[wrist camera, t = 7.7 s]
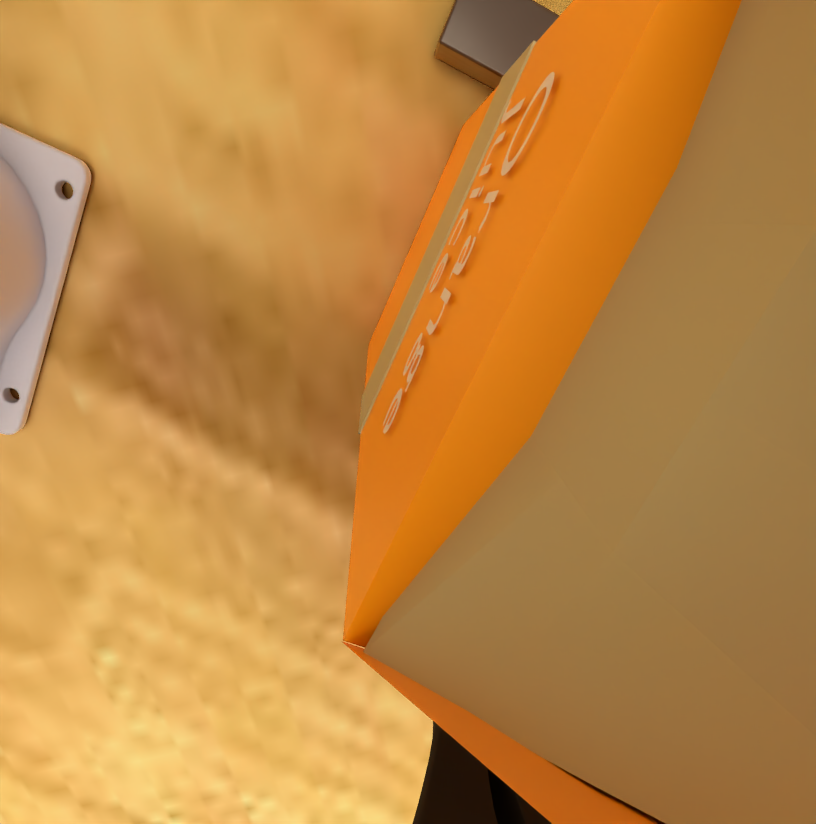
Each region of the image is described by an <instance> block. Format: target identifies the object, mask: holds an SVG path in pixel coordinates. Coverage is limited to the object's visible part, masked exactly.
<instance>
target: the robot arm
mask: <svg viewBox="0 0 816 824" xmlns="http://www.w3.org/2000/svg"><path fill="white" fill-rule="evenodd" d="M66 182H68V183H69V184H70V185H71V186H72V188H73V195H72V197H71V198H70V199H67V198H66V197H65V196H64V194H63V193H62V186H63V184H64V183H66ZM90 184H91V173H90V170H89V168H88V166H87V165H86V164H85V162H83V161H82V160H80V159H79V158H77V157H75V156H72V155H70V154H68V153H66V152H64V151H61V150H59V149H57V148H55V147H52V146H50V145H48V144H46V143H44V142H41V141H39V140H37V139H35V138H33V137H30V136H28V135H26V134H24V133H22V132H19V131H17V130H15V129H13V128H11V127H8V126H6V125H4V124H2V123H0V433H1V434H6V435H10V434H14V433H16V432H18V431H19V430H21V429H22V428H24V426H25V424H26V421H27V417H28V413H29V409H30V406H31V402H32V398H33V395H34V391H35V387H36V384H37V380H38V376H39V372H40V369H41V365H42V361H43V358H44V354H45V350H46V347H47V343H48V339H49V335H50V332H51V328H52V324H53V321H54V317H55V313H56V310H57V306H58V302H59V298H60V295H61V291H62V287H63V284H64V280H65V276H66V272H67V269H68V265H69V261H70V258H71V254H72V250H73V247H74V243H75V239H76V235H77V232H78V228H79V224H80V221H81V217H82V213H83V210H84V206H85V202H86V198H87V195H88V191H89V187H90ZM10 388H13V389H15V390H16V391H17V392H18V394H19V399H16V398H14V397H13V396H12V395H11V393H10ZM413 824H552V823H551V822H549V821H548V820H547V819H546V818H545V817H544V816H543V815H541V814H540V813H539V812H538V811H537V810H536V809H534V808H533V807H532V806H531V805H530V804H529V803H528V802H526V801H525V800H524V799H523V798H522V797H521V796H519V795H518V794H517V793H516V792H515V791H514V790H513V789H511V788H510V787H509V786H508V785H507V784H506V783H504V782H503V781H502V780H501V779H500V778H499V777H498V776H496V775H495V774H494V773H493V772H492V771H491V770H489V769H488V768H487V767H486V766H485V765H484V764H483V763H481V762H480V761H479V760H478V759H477V758H476V757H474V756H473V755H472V754H471V753H470V752H469V751H468V750H466V749H465V748H464V747H463V746H462V745H461V744H459V743H458V742H457V741H456V740H455V739H454V738H452V737H451V736H450V735H449V734H448V733H447V732H446V731H444V730H443V729H442V728H441V727H440V726H439V725H437V724H436V723H435V722H434V721H433V739H432V745H431V751H430V757H429V762H428V766H427V770H426V774H425V779H424V783H423V787H422V791H421V795H420V799H419V803H418V807H417V810H416V814H415V817H414V821H413Z"/></svg>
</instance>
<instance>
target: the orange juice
mask: <svg viewBox="0 0 816 824" xmlns="http://www.w3.org/2000/svg"><path fill="white" fill-rule="evenodd" d="M358 434H361V438H360V449H359V461H358V472H357V484H356V496H355V507H354V519H353V530H352V542H351V554H350V565H349V577H348V588H347V600H346V612H345V623H344V635H343V641H346V642H350V643H353V644H356V645H359V646H362V647H365V649H363V648H360V647H357V646H354V645H351V644H348V643H345V642H343V643H344V644H345V645H346V646H347V647H349V648H350V649H351V650H352V651H353V652H354V653H356V654H357V655H358V656H359V657H360V658H361V659H362V660H364V661H365V662H366V663H367V664H368V665H369V666H371V667H372V668H373V669H374V670H375V671H376V672H377V673H379V674H380V675H381V676H382V677H383V678H384V679H386V680H387V681H388V682H389V683H390V684H391V685H392V686H394V687H395V688H396V689H397V690H398V691H399V692H401V693H402V694H403V695H404V696H405V697H406V698H407V699H409V700H410V701H411V702H412V703H413V704H414V705H416V706H417V707H418V708H419V709H420V710H421V711H422V712H424V713H425V714H426V715H427V716H428V717H429V718H431V719H432V720H433V721H434V722H435V723H436V724H437V725H439V726H440V727H441V728H442V729H443V730H444V731H446V732H447V733H448V734H449V735H450V736H451V737H452V738H454V739H455V740H456V741H457V742H458V743H459V744H461V745H462V746H463V747H464V748H465V749H466V750H468V751H469V752H470V753H471V754H472V755H473V756H474V757H476V758H477V759H478V760H479V761H480V762H481V763H483V764H484V765H485V766H486V767H487V768H488V769H489V770H491V771H492V772H493V773H494V774H495V775H496V776H498V777H499V778H500V779H501V780H502V781H503V782H504V783H506V784H507V785H508V786H509V787H510V788H511V789H513V790H514V791H515V792H516V793H517V794H518V795H519V796H521V797H522V798H523V799H524V800H525V801H526V802H528V803H529V804H530V805H531V806H532V807H533V808H534V809H536V810H537V811H538V812H539V813H540V814H541V815H543V816H544V817H545V818H546V819H547V820H548V821H549V822H551V823H552V824H816V0H573V1H572V3H571V4H570V5H569V6H568V7H567V8H566V9H565V10H564V12H563V13H562V14H561V15H560V16H559V17H558V18H557V20H556V21H555V22H554V23H553V24H552V25H551V26H550V27H549V29H548V30H547V31H546V32H545V33H544V34H543V35H542V37H541V38H540V39H539V40H538V41H537V42H536V41H533V42H532V43H531V44H530V45H529V46H528V48H527V49H526V50H525V51H524V52H523V53H522V55H521V56H520V57H519V58H518V59H517V60H516V62H515V63H514V64H513V65H512V66H511V67H510V69H509V70H508V71H507V72H506V73H505V74H504V76H503V77H502V79H501V81H500V83H499V85H498V86H497V87H496V89H495V90H494V91H493V92H492V93H491V94H490V95H489V97H488V98H487V99H486V100H485V101H484V102H483V103H482V104H481V106H480V107H479V108H478V109H477V110H476V111H475V112H474V114H473V115H472V116H471V117H470V118H469V119H468V120H467V121H466V123H465V124H464V125H463V127H462V129H461V131H460V134H459V136H458V138H457V141H456V143H455V145H454V148H453V150H452V152H451V155H450V157H449V159H448V161H447V164H446V166H445V168H444V171H443V173H442V175H441V178H440V180H439V182H438V185H437V187H436V189H435V192H434V194H433V196H432V199H431V201H430V203H429V206H428V208H427V210H426V213H425V215H424V217H423V219H422V222H421V224H420V226H419V229H418V231H417V233H416V236H415V238H414V240H413V243H412V245H411V247H410V250H409V252H408V254H407V257H406V259H405V261H404V264H403V266H402V268H401V271H400V273H399V275H398V278H397V280H396V282H395V284H394V287H393V289H392V291H391V294H390V296H389V298H388V301H387V303H386V305H385V308H384V310H383V312H382V315H381V317H380V319H379V322H378V324H377V326H376V329H375V331H374V333H373V336H372V338H371V340H370V342H369V345H368V357H367V368H366V380H365V390H364V393H363V395H362V401H361V411H360V421H359V431H358Z"/></svg>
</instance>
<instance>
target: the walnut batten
mask: <svg viewBox="0 0 816 824" xmlns="http://www.w3.org/2000/svg"><path fill="white" fill-rule="evenodd" d="M558 17H559V15H557V14H556V13H554V12H552V11H550V10H549V9H547V8H545V7H544V6H542V5H540V4H538V3H537V2H535V1H533V0H455V2H454V4H453V7H452V9H451V12H450V14H449V16H448V19H447V21H446V24H445V26H444V29H443V31H442V33H441V36H440V38H439V41H438V44H437V47H436V50H435V53H434V56H435V57H436V58H438V59H439V60H441V61H443V62H445V63H447V64H449V65H450V66H452V67H454V68H456V69H458V70H460V71H461V72H463V73H465V74H467V75H469V76H471V77H473V78H474V79H476V80H478V81H480V82H482V83H484V84H485V85H487V86H489V87H491V88H493V89H496V87H497V86H498V85H499V83H500V81H501V79H502V77H503V76H504V74H505V73H506V72H507V71H508V70H509V69H510V67H511V66H512V65H513V64H514V63H515V62H516V60H517V59H518V58H519V57H520V56H521V55H522V53H523V52H524V51H525V50H526V49H527V48H528V46H529V45H530V44H531V43H532V42H533V41H536V42H537V41H538V40H539V39H540V38H541V37H542V35H543V34H544V33H545V32H546V31H547V30H548V29H549V27H550V26H551V25H552V24H553V23H554V22H555V21H556V20H557V18H558Z"/></svg>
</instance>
